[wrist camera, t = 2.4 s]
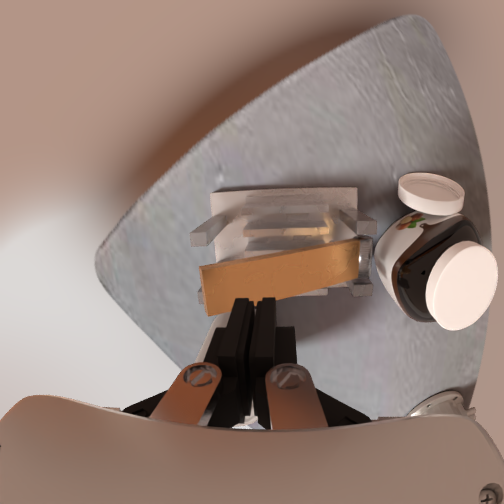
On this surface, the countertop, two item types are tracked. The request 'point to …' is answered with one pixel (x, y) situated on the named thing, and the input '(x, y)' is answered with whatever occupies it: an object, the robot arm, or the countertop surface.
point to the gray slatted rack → (284, 225)
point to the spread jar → (436, 256)
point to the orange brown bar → (284, 273)
